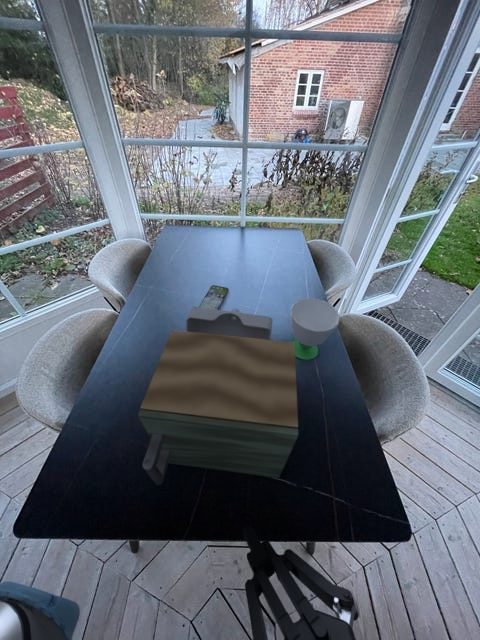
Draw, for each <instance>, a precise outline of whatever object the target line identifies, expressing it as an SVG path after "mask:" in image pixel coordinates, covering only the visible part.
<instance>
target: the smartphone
mask: <svg viewBox="0 0 480 640" xmlns="http://www.w3.org/2000/svg"><path fill="white" fill-rule="evenodd" d="M228 294H229V288H228V287H226V286H219V285H214V284H213V285H211V286H210V287H209V289H208V290H207V292H206V294H205V296H204V297H203V298H202V300H201V302H200V305H199V306H198V307H201V308H209V309H216V310H221V307H222V305H223V303H224V301H225V299H226V297H227V295H228Z"/></svg>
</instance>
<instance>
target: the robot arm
mask: <svg viewBox="0 0 480 640" xmlns="http://www.w3.org/2000/svg"><path fill="white" fill-rule="evenodd" d="M241 531H242V533H243V536H244V540H245V541H246V544H247V547H248V549H249V550H250V551H249V552H247V553H246V560H247V563H248V565H249V568H250V570H251V571H252V574H253V575H252V577H251V578H249V579H247V580H246V581H245V583H244V589H245V595H246V602H247V607H248V615H249V620H250V621H249V622H250V627H251V634H252V640H269V637H268V632H267V628H266V624H265V618H264V613H263V609H262V604H261V598H260V597H261V595H263V597H264V600H265V602H266V603H267V606H268V608H269V609H270V612H271V613H272V615H273V618H274V620H275V622H276V624H277V626H278V628H279V630H280V632H281V634H282V636H283V640H357V638H356V636H355V632H354V629H353V626H354V621H357V620H358V619H359V610H358V608H357V605H356V602H355V599H354V596H353V593H352V592H351V590H350V589H348V588H345V587H342V586H339V585H336V584H334V583H332V582H331V581H330V580H329V579H327V577H325V576H324V575H323V574H321V573H320V572H319V571H318V570H316V569H315V568H314V567H313V566H312V565H310V563H308V562H307V561H306V560H304V559H303V558H302V557H301V556H300V555H298V554H297V553H296V552H294V551H293V550H292V549H291V548H287V549H285V550H284V552H283V553H282V554H278V553H277V551H276V550H275V548H274V547H273V545H272V543H271V542H270V541H269V539H264V540H263V541H261V539H260V538H259V536H258V535H257V533H256V531H255V530H254V528H253V527H252V525H251V524H249V525H247V526H246V527H245V528H244V529H242V530H241ZM274 575H276V579H277V581H278V582H279V583H280V584H281V586H282V588H283V590H284V591H285V594H286V595H287V597H288V599H289V600H290V602H291V604H292V606H293V607H294V609H295V611H296V613H297V614H298V616H299V619H298V620H297V621H294V622H293V620H292V617H291V616H290V614H289V612H288V611H287V610H286V608H285V606H284V604H283V602H282V600H281V598H280V597H279V595H278V593H277V591H276V590H275V587H274V586H273V584H272V582H271V580H270V578H271V577H273V576H274ZM293 576H294V577H295V578H296V579H297V580H298V581H299V582H300V583H302V584H303V586H305V587H306V588H307V589H308V590H309V591H310V592H311V593H312V594H313V595H315V596H316V597H317V598H318V599H319V600H320V601H321V602H322V603H323V604H325V605H326V607H328V608H329V609H330V610H331V611H333V612H334V614H335V616H334V615H331V614H328V613H326V612H324V611H320V610H317V609H315V608H314V606H313V605H312V603H311V602H310V600H309V599H308V597H307V596H306V595H305V594H304V592H303V591H302V589H301V588H300V586H299V584H298V583H297V581H296V580H295V579H294V577H293ZM80 613H81V608H80V606H79V603H77V602H76V601H74V600H71V599H68V598H66V597H63V596H60V595H56V594H53V593H50V592H48V591H45V590H42V589H40V588H39V589H38V588H36V587H31V586H28V585H25V584H22V583H18V582H15V581H8V580H7V581H3V582H1V583H0V640H73V635H74V632H75V630H76V627H77V625H78V622H79V619H80Z"/></svg>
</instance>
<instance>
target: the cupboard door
mask: <svg viewBox="0 0 480 640" xmlns="http://www.w3.org/2000/svg"><path fill="white" fill-rule="evenodd" d="M137 417H138V419H139V421H140V422H141V424H142V426H143V428H144V430H145V431H146V433H147V435H148V436H149V439H150V440H149V444H148V447H147V450H146V453H145V456H144V459H143V462H142V469H143V470H144V471H145V472H146V473H147V475H148V476H149V478H150V479H151V480H152V482H153V483H154V484H155V485H157V486H160V485H162V484H163V483H164V482H165V481H164V480H165V478H166V473H167V470H168V466H169V464H172V465H179V466H187V467H192V468H200V469H201V468H202V469H208V470H217V471H222V472H231V473H236V474H237V473H238V474H245V475H251V476H252V475H253V476H259V477H268V478H276V479H279V478H280V477H281V474H282V472H283V470H284V468H285V466H286V465H287V461H288V460H289V457H290V455H291V453H292V451H293V448H294V446H295V444H296V441H297V440H298V437H299V429H293V428H285V427H277V426H268V425H260V424H252V423H244V422H236V421H227V420H219V419H211V418H203V417H195V416H187V415H178V414H170V413H162V412H154V411H146V410H141V409H139V411H138V413H137Z"/></svg>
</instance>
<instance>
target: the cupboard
mask: <svg viewBox="0 0 480 640" xmlns="http://www.w3.org/2000/svg"><path fill="white" fill-rule="evenodd" d="M297 387H298V386H297V369H296V356H295V343H294V342H292V341H282V340H272V339H270V340H264V339H254V338H244V337H234V336H224V335H214V334H204V333H194V332H186V331H184V330H175V329H174V330H173V329H171V331H170V334H169V336H168V338H167V341H166V343H165V345H164V348H163V351H162V353H161V356H160V357H159V361H158V363H157V365H156V368H155V371H154V373H153V375H152V378H151V380H150V383H149V385H148V388H147V390H146V393H145V396H144V398H143V400H142V402H141V405H140V410H146V411H154V412H162V413H170V414H178V415H187V416H195V417H203V418H211V419H219V420H227V421H236V422H244V423H252V424H260V425H268V426H277V427H285V428H293V429H298V428H299V414H298V390H297ZM298 430H299V429H298Z"/></svg>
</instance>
